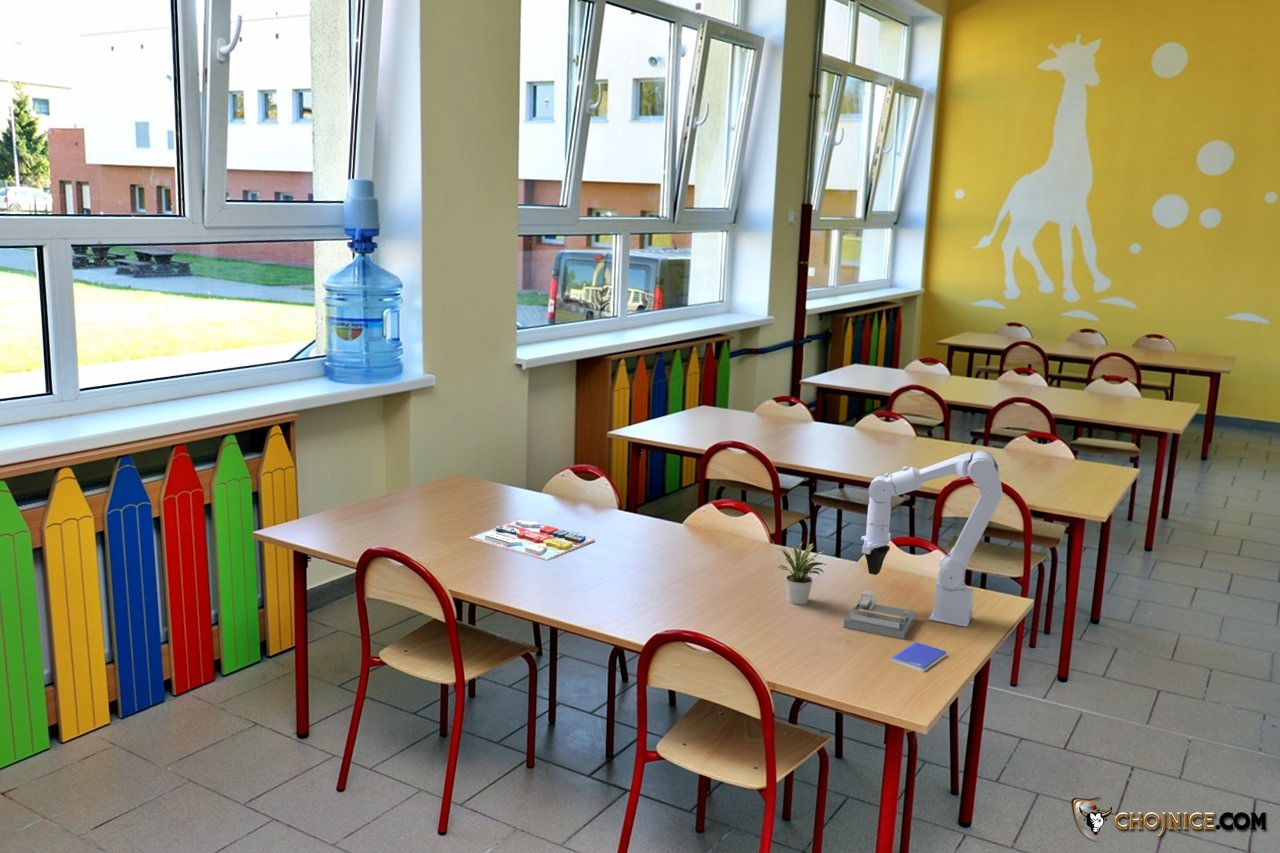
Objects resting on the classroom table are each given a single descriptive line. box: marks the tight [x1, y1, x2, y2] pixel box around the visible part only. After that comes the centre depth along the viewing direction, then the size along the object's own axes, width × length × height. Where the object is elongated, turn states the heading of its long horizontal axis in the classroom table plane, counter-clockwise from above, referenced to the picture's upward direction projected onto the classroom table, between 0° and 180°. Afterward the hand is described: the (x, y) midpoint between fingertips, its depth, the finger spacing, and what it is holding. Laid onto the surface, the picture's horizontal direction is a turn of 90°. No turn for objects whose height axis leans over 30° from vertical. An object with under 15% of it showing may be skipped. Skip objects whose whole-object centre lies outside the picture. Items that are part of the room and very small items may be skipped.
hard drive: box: [890, 641, 948, 672], centre depth 255 cm, size 2×8×12 cm
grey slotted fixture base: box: [843, 597, 918, 640], centre depth 275 cm, size 15×15×4 cm
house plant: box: [775, 541, 828, 606], centre depth 286 cm, size 14×14×16 cm
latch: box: [859, 590, 875, 607], centre depth 281 cm, size 3×5×3 cm, turn 155°
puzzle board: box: [469, 518, 596, 562], centre depth 331 cm, size 30×23×3 cm
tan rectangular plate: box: [859, 609, 900, 618], centre depth 274 cm, size 11×3×1 cm, turn 65°
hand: (874, 573), depth 284 cm, fingers closed
